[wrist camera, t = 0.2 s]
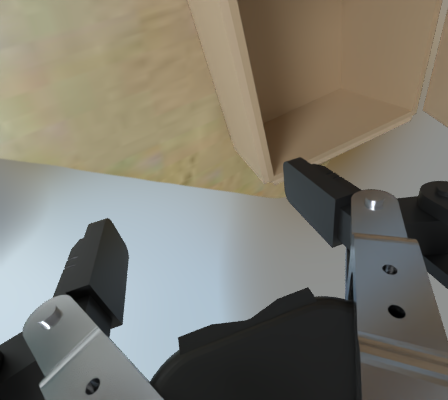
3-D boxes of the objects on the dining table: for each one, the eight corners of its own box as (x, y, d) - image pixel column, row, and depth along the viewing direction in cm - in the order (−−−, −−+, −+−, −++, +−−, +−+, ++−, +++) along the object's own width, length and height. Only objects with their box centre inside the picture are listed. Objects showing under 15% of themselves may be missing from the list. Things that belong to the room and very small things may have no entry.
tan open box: (228, 145, 35) (265, 189, 26) (150, -92, 20) (172, -184, 11) (341, 93, 36) (414, 118, 27) (346, -169, 21) (514, -311, 12)
